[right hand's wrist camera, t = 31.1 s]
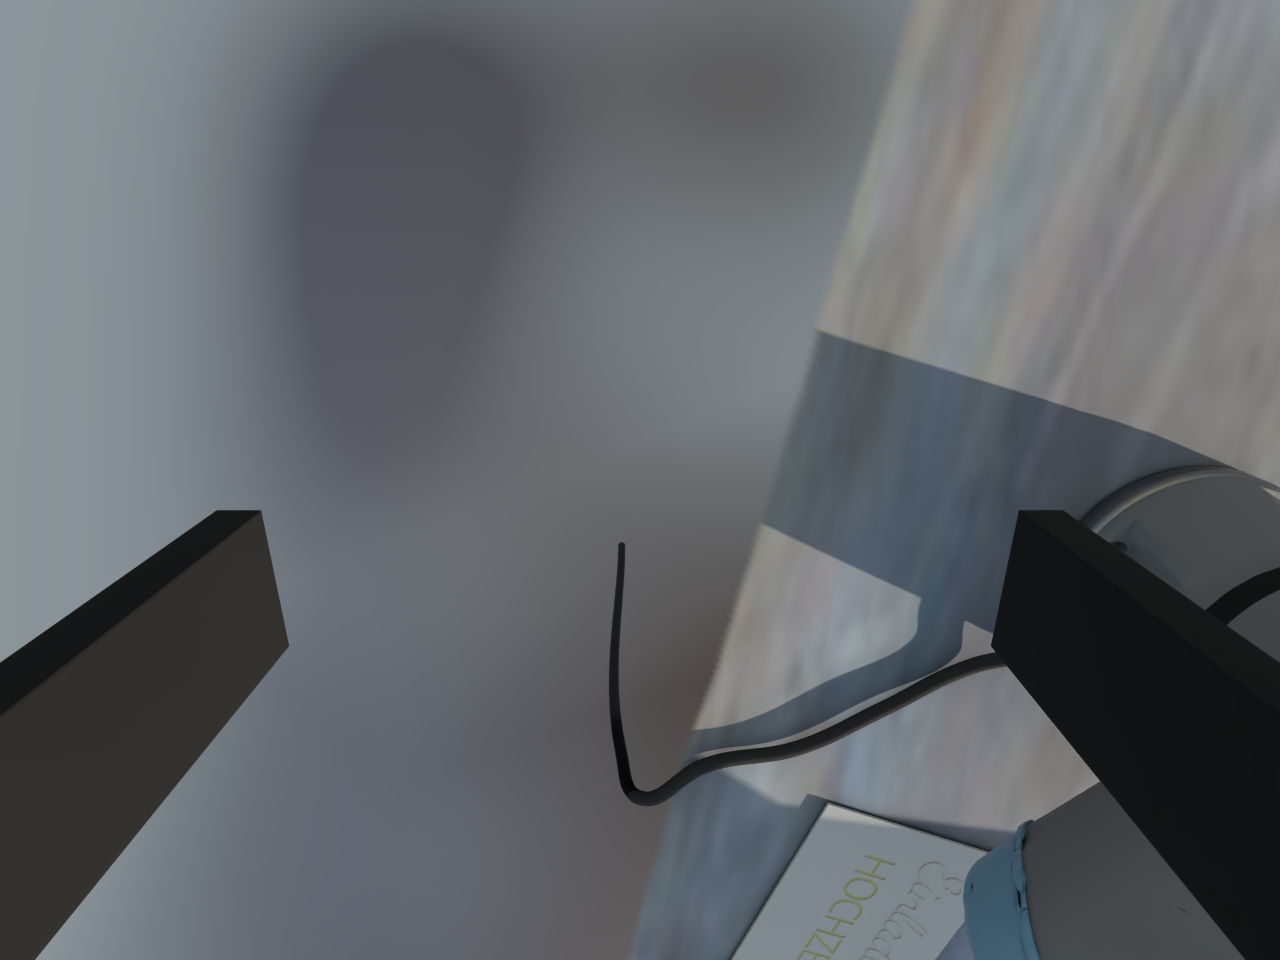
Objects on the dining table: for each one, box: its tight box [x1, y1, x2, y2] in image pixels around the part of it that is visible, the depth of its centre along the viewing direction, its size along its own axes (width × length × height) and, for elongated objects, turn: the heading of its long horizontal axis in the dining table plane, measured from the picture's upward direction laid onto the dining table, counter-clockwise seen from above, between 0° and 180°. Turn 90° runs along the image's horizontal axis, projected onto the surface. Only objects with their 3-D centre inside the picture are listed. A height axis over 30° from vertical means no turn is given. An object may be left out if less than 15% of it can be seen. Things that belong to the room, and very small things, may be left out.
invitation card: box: [731, 802, 989, 960], centre depth 55 cm, size 21×1×15 cm
